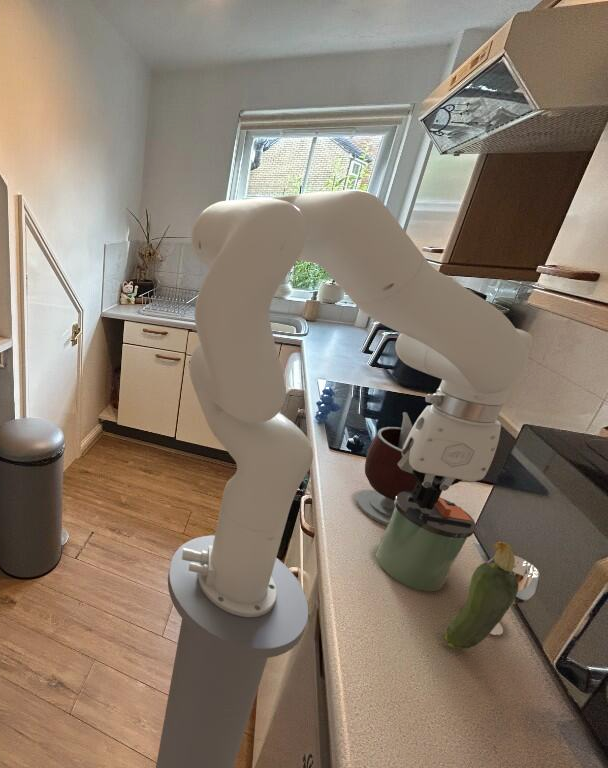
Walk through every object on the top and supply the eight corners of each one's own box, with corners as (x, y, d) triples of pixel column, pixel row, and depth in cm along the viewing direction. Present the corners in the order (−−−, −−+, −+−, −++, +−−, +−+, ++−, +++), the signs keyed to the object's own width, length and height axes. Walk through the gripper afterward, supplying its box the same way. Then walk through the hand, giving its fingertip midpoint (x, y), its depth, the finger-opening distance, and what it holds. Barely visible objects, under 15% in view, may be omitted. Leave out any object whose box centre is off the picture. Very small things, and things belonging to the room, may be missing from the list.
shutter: (443, 517, 67) (447, 510, 66) (432, 504, 70) (436, 496, 69) (472, 522, 66) (475, 515, 65) (459, 508, 69) (463, 501, 68)
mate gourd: (439, 540, 80) (480, 454, 73) (360, 522, 84) (391, 439, 77) (411, 494, 94) (443, 417, 86) (344, 480, 98) (369, 406, 90)
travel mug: (386, 584, 70) (413, 523, 65) (364, 540, 79) (386, 483, 74) (459, 600, 67) (493, 537, 62) (427, 552, 77) (454, 494, 72)
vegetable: (476, 651, 59) (540, 546, 52) (474, 672, 56) (541, 565, 49) (439, 630, 62) (494, 528, 54) (435, 649, 59) (492, 545, 52)
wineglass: (497, 645, 60) (533, 586, 56) (452, 612, 65) (483, 556, 61) (516, 631, 63) (553, 573, 58) (472, 600, 67) (503, 545, 63)
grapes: (334, 433, 120) (345, 396, 115) (309, 427, 123) (319, 391, 118) (336, 418, 129) (346, 384, 125) (312, 413, 132) (322, 379, 128)
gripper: (421, 408, 60) (380, 508, 67) (542, 425, 57) (486, 528, 64) (399, 389, 66) (365, 482, 73) (506, 404, 63) (460, 499, 70)
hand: (421, 503), depth 68 cm, fingers closed
